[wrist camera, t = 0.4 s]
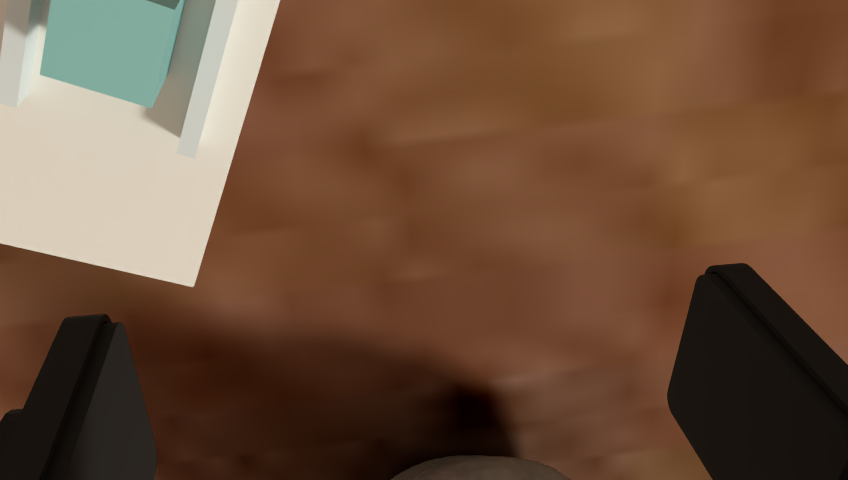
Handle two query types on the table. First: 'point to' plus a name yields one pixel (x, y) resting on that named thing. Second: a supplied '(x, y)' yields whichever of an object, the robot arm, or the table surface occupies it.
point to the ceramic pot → (480, 469)
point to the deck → (125, 144)
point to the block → (112, 45)
